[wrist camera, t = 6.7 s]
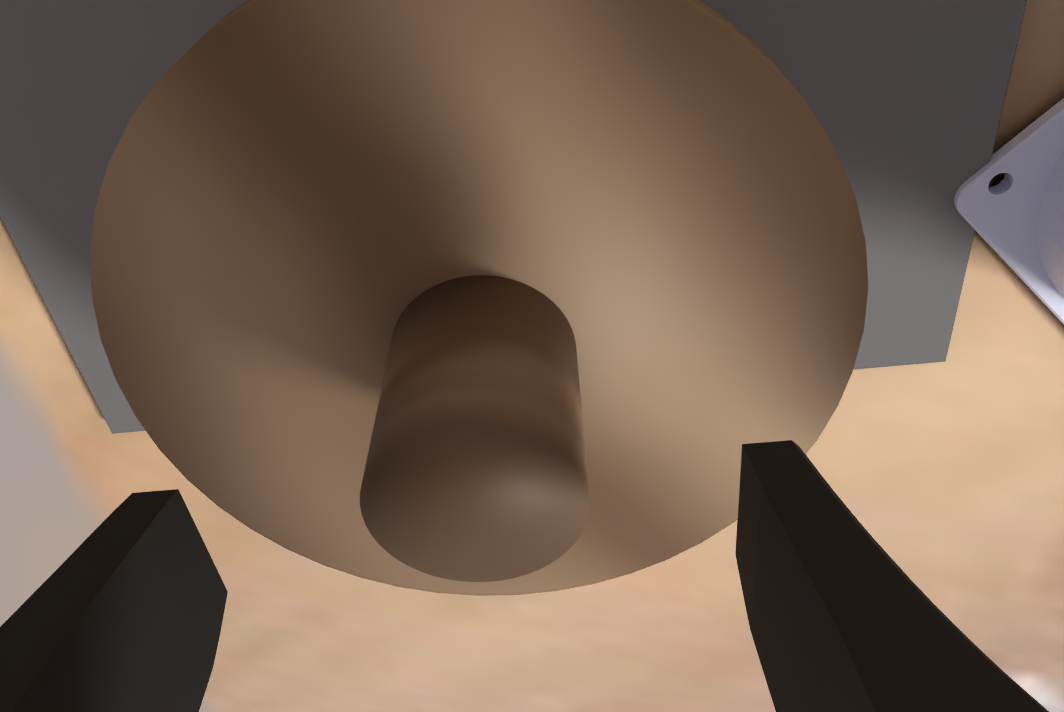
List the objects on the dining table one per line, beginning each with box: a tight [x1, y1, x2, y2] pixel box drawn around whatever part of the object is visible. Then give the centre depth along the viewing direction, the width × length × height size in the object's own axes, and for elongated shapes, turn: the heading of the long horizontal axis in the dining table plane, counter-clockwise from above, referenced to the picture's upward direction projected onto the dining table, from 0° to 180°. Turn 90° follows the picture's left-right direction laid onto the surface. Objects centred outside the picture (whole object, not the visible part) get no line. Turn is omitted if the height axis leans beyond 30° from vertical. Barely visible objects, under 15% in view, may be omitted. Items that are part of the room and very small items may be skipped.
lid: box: [90, 0, 868, 596], centre depth 14 cm, size 13×13×4 cm
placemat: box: [0, 0, 1027, 433], centre depth 18 cm, size 16×22×1 cm
